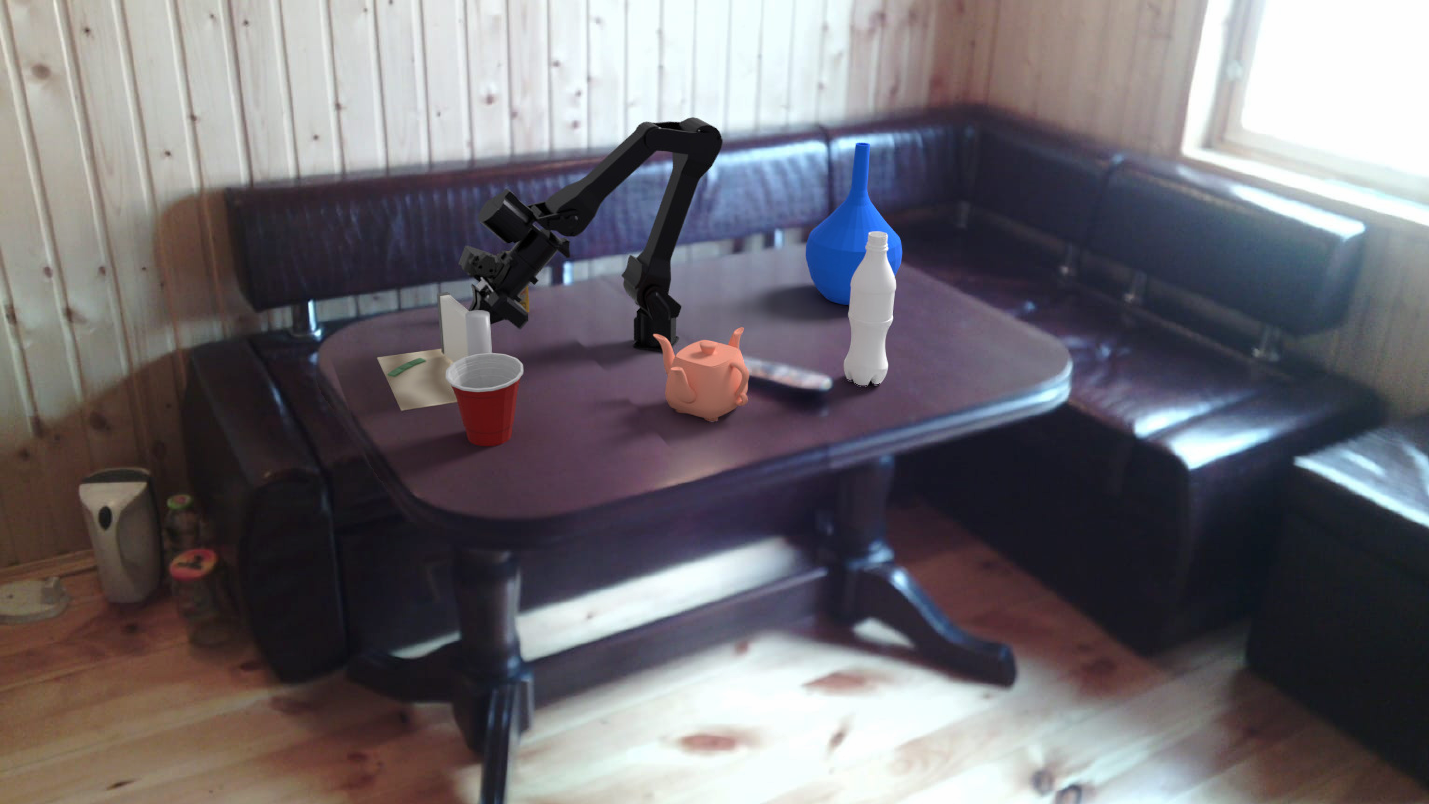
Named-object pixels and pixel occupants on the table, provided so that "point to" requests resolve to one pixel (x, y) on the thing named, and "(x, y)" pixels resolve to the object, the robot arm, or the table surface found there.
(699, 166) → the robot arm
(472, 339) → the white panel grey edge
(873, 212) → the vase
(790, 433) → the table surface
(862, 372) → the water bottle
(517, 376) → the plastic cup
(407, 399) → the board
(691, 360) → the teapot
